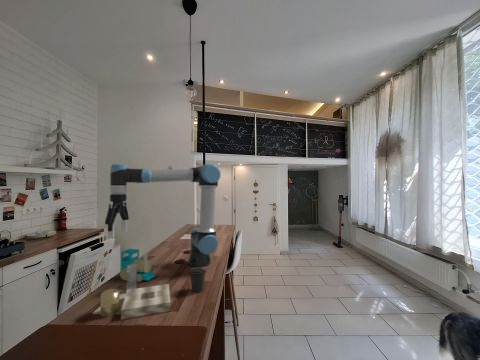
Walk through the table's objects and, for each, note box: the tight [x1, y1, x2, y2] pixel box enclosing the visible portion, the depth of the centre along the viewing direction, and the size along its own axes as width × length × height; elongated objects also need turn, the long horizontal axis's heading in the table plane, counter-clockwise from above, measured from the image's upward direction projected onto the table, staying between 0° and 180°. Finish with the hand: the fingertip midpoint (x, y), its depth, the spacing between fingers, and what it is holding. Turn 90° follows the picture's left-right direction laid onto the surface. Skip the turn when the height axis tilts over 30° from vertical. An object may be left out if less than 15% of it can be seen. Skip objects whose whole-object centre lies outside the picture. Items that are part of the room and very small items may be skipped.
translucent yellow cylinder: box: [99, 288, 120, 318], centre depth 90 cm, size 6×6×8 cm
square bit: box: [125, 264, 137, 294], centre depth 109 cm, size 4×4×12 cm
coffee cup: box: [188, 267, 207, 294], centre depth 109 cm, size 8×8×10 cm
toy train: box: [119, 248, 156, 283], centre depth 124 cm, size 8×17×15 cm, turn 78°
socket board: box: [120, 283, 171, 321], centre depth 97 cm, size 18×18×4 cm
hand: (117, 234), depth 116 cm, fingers open, 13 cm apart
